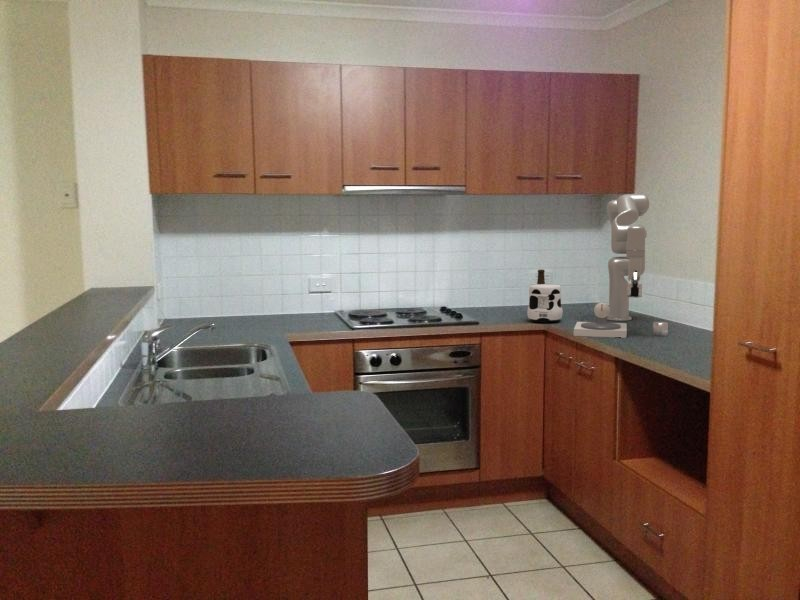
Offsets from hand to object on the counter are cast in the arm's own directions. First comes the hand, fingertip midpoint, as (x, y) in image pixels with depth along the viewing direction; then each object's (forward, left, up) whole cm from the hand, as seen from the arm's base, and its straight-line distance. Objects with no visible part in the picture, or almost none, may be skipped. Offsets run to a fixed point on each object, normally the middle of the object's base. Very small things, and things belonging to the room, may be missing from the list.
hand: (634, 295), depth 299 cm
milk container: (-28, -42, -18) cm, 53 cm away
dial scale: (0, -14, -17) cm, 22 cm away
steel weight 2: (0, +11, -17) cm, 21 cm away
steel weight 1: (0, 0, -1) cm, 1 cm away
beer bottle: (-53, -47, -18) cm, 73 cm away
